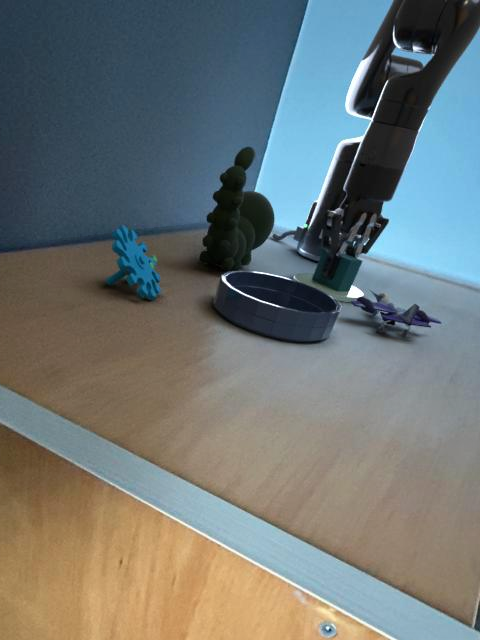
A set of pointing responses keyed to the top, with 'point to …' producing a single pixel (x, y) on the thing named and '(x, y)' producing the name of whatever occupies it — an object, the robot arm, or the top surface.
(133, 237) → the gear
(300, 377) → the top surface
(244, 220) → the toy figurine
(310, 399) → the top surface
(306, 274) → the plate
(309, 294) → the bowl
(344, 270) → the teal rectangular block
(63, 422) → the top surface
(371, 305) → the toy airplane
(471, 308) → the top surface
